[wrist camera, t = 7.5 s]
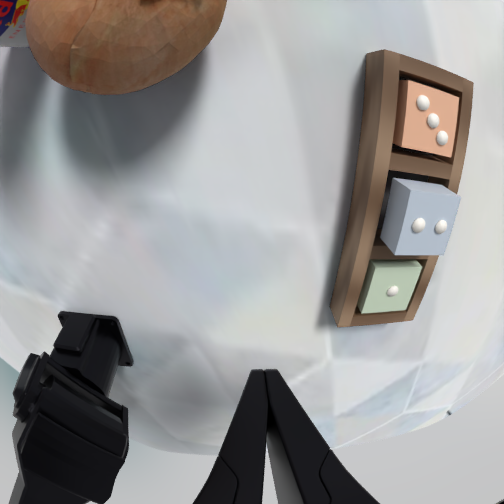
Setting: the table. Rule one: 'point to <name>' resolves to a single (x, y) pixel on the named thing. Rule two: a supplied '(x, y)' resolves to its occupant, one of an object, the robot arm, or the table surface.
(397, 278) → the key one sage
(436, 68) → the key strip
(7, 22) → the energy drink
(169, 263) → the table surface
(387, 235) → the key two blue
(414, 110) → the key three terracotta
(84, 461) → the robot arm
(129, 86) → the onion
